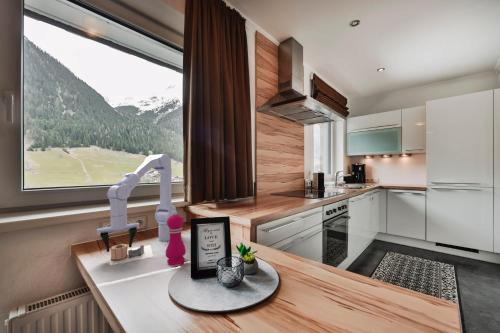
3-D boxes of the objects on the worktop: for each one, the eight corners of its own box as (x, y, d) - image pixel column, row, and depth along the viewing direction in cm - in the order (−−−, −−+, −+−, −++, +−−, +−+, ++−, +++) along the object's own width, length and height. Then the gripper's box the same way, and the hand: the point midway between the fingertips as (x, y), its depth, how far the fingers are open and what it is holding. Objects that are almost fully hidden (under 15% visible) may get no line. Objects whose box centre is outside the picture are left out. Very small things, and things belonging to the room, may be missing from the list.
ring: (127, 252, 90) (127, 243, 90) (126, 257, 85) (126, 247, 86) (112, 255, 88) (112, 245, 88) (110, 260, 83) (110, 249, 83)
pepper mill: (179, 268, 78) (178, 212, 78) (161, 267, 79) (160, 212, 80) (189, 260, 85) (188, 209, 85) (172, 259, 86) (171, 209, 87)
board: (150, 246, 101) (150, 245, 101) (153, 258, 87) (153, 256, 87) (112, 253, 94) (112, 251, 94) (109, 267, 80) (109, 265, 80)
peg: (128, 254, 91) (127, 241, 91) (127, 258, 86) (127, 246, 86) (111, 257, 88) (111, 244, 88) (110, 262, 83) (109, 249, 83)
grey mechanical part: (143, 251, 93) (143, 245, 93) (144, 255, 89) (144, 248, 89) (128, 254, 90) (128, 247, 90) (128, 258, 86) (128, 251, 86)
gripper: (136, 211, 95) (137, 242, 94) (96, 216, 86) (96, 250, 86) (140, 213, 89) (140, 246, 89) (97, 219, 80) (97, 255, 80)
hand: (119, 249), depth 87 cm, fingers open, 7 cm apart
